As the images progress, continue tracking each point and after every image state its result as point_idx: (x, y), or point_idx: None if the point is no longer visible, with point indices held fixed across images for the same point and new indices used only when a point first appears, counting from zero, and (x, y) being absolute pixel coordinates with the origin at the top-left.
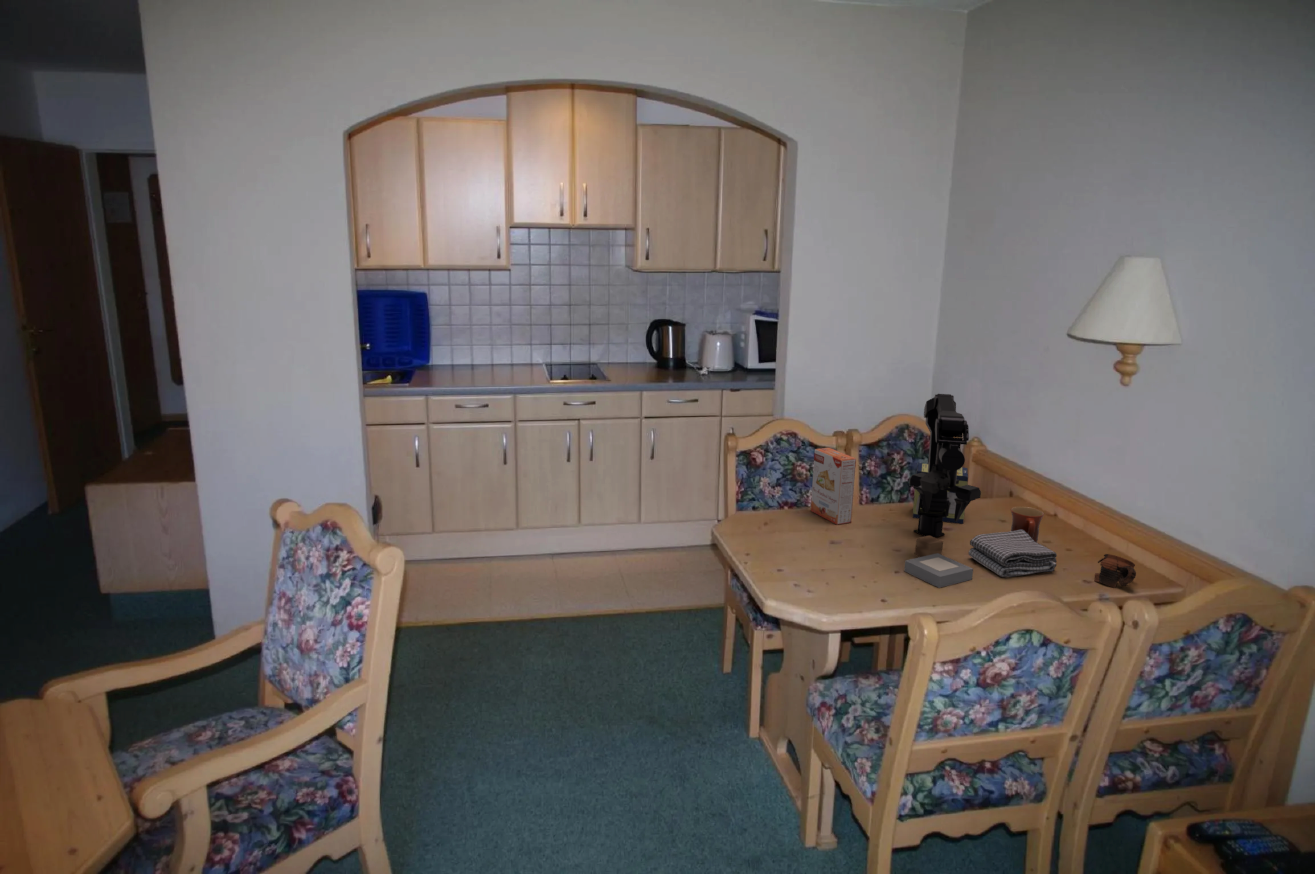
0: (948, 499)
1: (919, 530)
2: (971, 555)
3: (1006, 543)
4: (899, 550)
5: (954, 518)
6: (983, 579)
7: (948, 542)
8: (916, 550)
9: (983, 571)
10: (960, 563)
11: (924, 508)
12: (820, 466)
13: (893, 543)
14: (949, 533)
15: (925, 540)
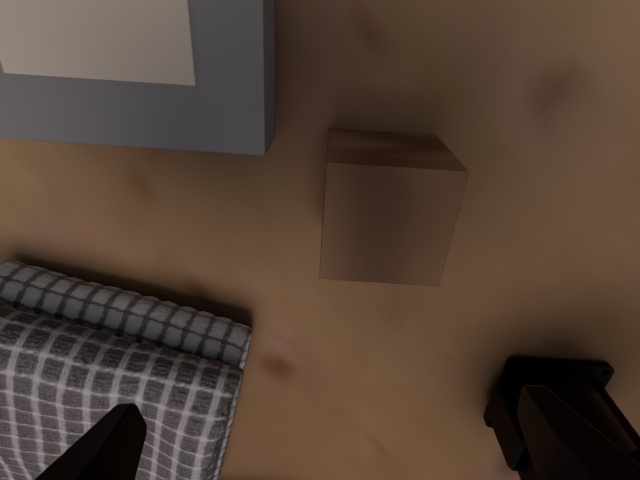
0: None
1: (588, 380)
2: (224, 321)
3: None
4: (540, 106)
5: (112, 427)
6: (12, 174)
7: (427, 380)
8: (434, 143)
9: (105, 253)
10: (65, 137)
11: (577, 420)
12: None
13: (626, 167)
14: (482, 442)
15: (394, 189)
